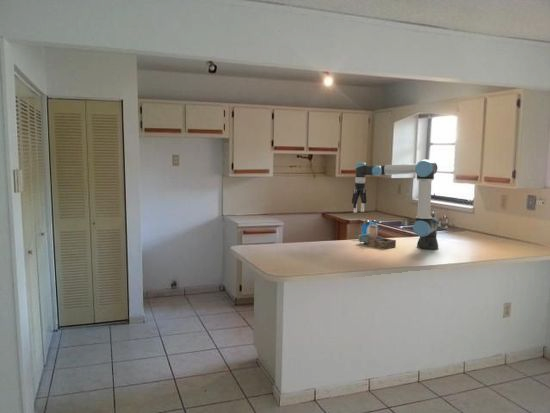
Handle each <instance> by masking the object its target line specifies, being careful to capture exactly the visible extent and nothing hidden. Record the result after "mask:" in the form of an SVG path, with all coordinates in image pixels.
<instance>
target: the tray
mask: <svg viewBox="0 0 550 413" xmlns="http://www.w3.org/2000/svg"><path fill="white" fill-rule="evenodd" d="M385 238H386V237H382V236H377V239H371V238H369V234H364V235H363V234H359V235H358V242H361V243H366V244H367V243H368V239H371V240H377V241H382V242H385Z"/></svg>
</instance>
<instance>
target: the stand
mask: <svg viewBox="0 0 550 413" xmlns="http://www.w3.org/2000/svg"><path fill="white" fill-rule="evenodd" d="M384 238H385V242H382V241H377V240H371V239H368V243H366V244H367V247H373V248H378V249H383V250H387V249H388V250H389V249H392V248H396V247H397V246H396V245H397V244H396V243H397V240H396V239H390V238H386V237H384Z"/></svg>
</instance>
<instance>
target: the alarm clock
mask: <svg viewBox="0 0 550 413" xmlns="http://www.w3.org/2000/svg"><path fill="white" fill-rule="evenodd" d="M370 225H377V235H378V233H379V230H380V229H379V226H378V224H377V220H376V219H371V220H368V219H366V220H364V221H363V224H362V226H361V229H360V230H361V235H364V234H369V232H370Z"/></svg>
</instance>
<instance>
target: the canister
mask: <svg viewBox="0 0 550 413" xmlns="http://www.w3.org/2000/svg"><path fill="white" fill-rule="evenodd" d="M377 226H378V224H377V225H370V232H369V238H371V239H377V237H378V234H377Z"/></svg>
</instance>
